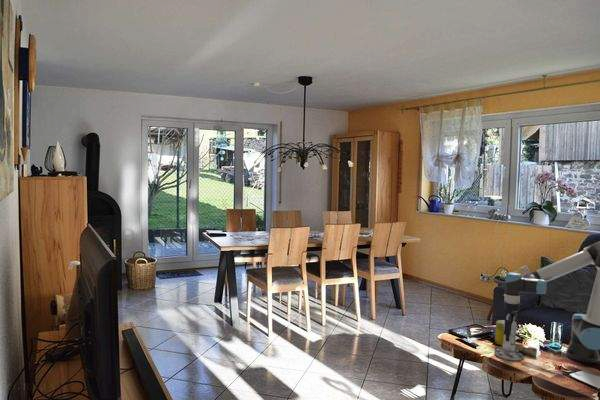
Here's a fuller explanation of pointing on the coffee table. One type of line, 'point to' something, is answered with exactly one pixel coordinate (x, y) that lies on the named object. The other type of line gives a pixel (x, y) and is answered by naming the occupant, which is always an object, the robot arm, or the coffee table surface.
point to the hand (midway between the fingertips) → (509, 345)
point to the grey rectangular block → (526, 350)
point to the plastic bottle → (513, 333)
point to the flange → (508, 355)
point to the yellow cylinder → (499, 332)
